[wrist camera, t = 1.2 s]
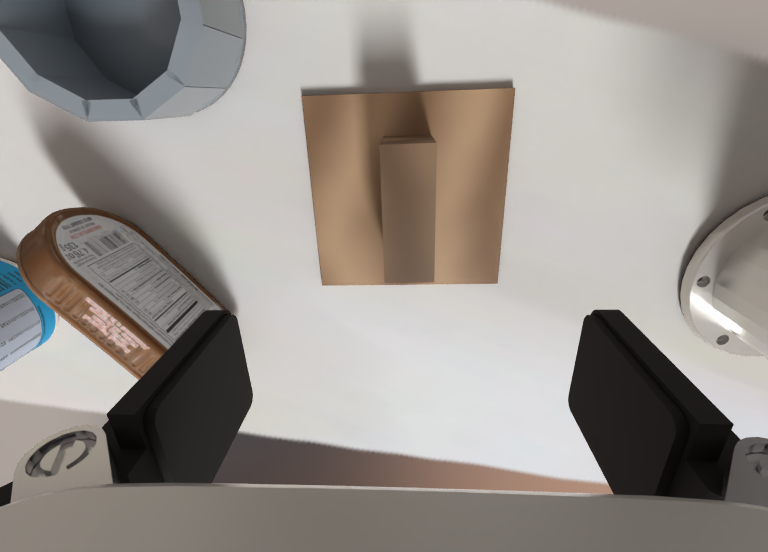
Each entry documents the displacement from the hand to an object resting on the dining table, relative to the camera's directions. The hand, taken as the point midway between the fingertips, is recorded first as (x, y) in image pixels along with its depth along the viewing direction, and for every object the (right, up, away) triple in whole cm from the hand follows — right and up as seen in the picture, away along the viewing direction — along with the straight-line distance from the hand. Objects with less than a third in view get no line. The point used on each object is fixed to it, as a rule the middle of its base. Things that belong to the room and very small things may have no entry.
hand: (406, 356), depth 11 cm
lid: (+1, +8, +17) cm, 19 cm away
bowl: (-14, +18, +13) cm, 26 cm away
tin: (-16, +2, +20) cm, 26 cm away
